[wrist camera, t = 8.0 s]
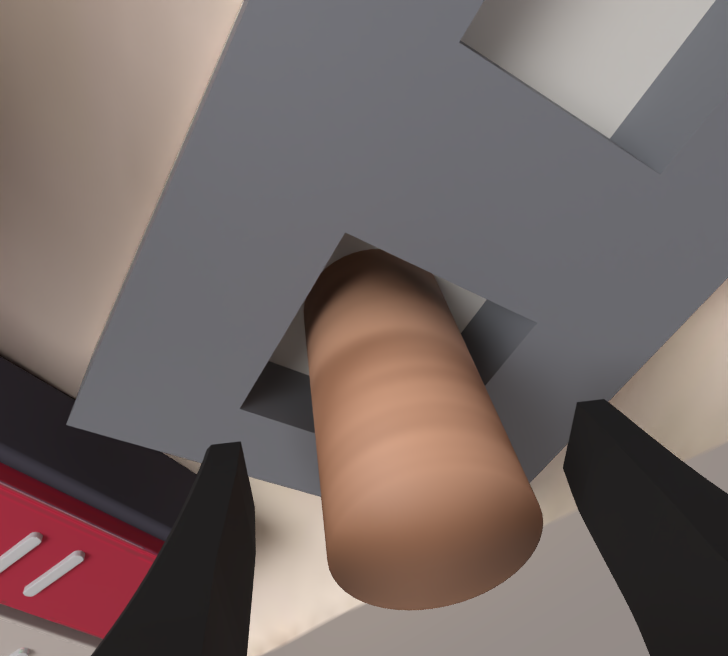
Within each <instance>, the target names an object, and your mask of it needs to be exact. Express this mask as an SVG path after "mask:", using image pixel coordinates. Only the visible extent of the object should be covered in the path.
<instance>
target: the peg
mask: <svg viewBox="0 0 728 656" xmlns="http://www.w3.org/2000/svg"><path fill="white" fill-rule="evenodd" d="M304 325H305V335H306V346H307V356H308V366H309V377H310V387H311V397H312V407H313V418H314V428H315V438H316V448H317V459H318V469H319V479H320V489H321V500H322V510H323V520H324V531H325V541H326V551H327V561H328V566H329V570H330V572H331V574H332V576H333V578H334V580H335V581H336V582H337V584H338V585H339V586H340V587H341V588H342V589H343V590H344V591H345V592H347V593H348V594H350V595H351V596H353V597H354V598H356V599H358V600H360V601H362V602H365V603H368V604H371V605H374V606H378V607H382V608H388V609H395V610H424V609H433V608H439V607H444V606H449V605H452V604H456V603H460V602H463V601H466V600H468V599H471V598H474V597H476V596H479V595H481V594H483V593H485V592H487V591H489V590H491V589H493V588H495V587H496V586H498V585H499V584H501V583H503V582H504V581H506V580H507V579H508V578H510V577H511V576H512V575H513V574H515V573H516V572H517V571H518V570H519V569H520V568H521V567H522V566H523V565H524V564H525V563H526V561H527V560H528V559H529V558H530V557H531V555H532V554H533V552H534V551H535V549H536V547H537V545H538V543H539V541H540V537H541V534H542V529H543V517H542V512H541V509H540V506H539V503H538V501H537V499H536V497H535V495H534V492H533V490H532V488H531V486H530V484H529V482H528V479H527V477H526V475H525V473H524V471H523V468H522V466H521V464H520V462H519V460H518V457H517V455H516V453H515V451H514V449H513V447H512V444H511V442H510V440H509V438H508V436H507V433H506V431H505V429H504V427H503V425H502V423H501V420H500V418H499V416H498V414H497V412H496V409H495V407H494V405H493V403H492V401H491V399H490V396H489V394H488V392H487V390H486V388H485V385H484V383H483V381H482V379H481V377H480V374H479V372H478V370H477V368H476V366H475V364H474V361H473V359H472V357H471V355H470V353H469V350H468V348H467V346H466V344H465V342H464V340H463V337H462V335H461V333H460V331H459V329H458V326H457V324H456V322H455V320H454V318H453V315H452V313H451V311H450V309H449V307H448V305H447V302H446V300H445V298H444V296H443V294H442V291H441V289H440V287H439V285H438V283H437V281H436V279H435V277H434V275H433V274H432V273H430V272H428V271H426V270H424V269H422V268H419V267H417V266H415V265H413V264H411V263H409V262H407V261H405V260H402V259H400V258H398V257H396V256H394V255H392V254H390V253H388V252H386V251H383V250H381V249H369V250H363V251H359V252H355V253H352V254H349V255H347V256H344V257H342V258H340V259H339V260H337V261H335V262H334V263H332V264H331V265H329V266H328V267H327V268H326V269H325V270H324V271H322V272H321V274H320V275H319V277H318V279H317V280H316V282H315V284H314V285H313V287H312V289H311V291H310V292H309V294H308V296H307V297H306V300H305V304H304Z"/></svg>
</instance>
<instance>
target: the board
mask: <svg viewBox="0 0 728 656" xmlns="http://www.w3.org/2000/svg"><path fill="white" fill-rule="evenodd" d="M369 249H381V250H383V251H386V252H388V253H390V254H392V255H394V256H396V257H398V258H400V259H402V260H405V261H407V262H409V263H411V264H413V265H415V266H417V267H419V268H422V269H424V270H426V271H428V272H430V273H432V274H433V275H434V277H435V279H436V281H437V283H438V285H439V287H440V289H441V291H442V294H443V296H444V298H445V300H446V302H447V305H448V307H449V309H450V311H451V313H452V315H453V318H454V320H455V322H456V324H457V326H458V329H459V331H460V333H461V335H462V337H463V340H464V342H465V344H466V346H467V348H468V350H469V353H470V355H471V357H472V359H473V361H474V364H475V366H476V368H477V370H478V372H479V374H480V377H481V379H482V381H483V383H484V385H485V388H486V390H487V392H488V394H489V396H490V399H491V401H492V403H493V405H494V407H495V409H496V412H497V414H498V416H499V418H500V420H501V423H502V425H503V427H504V429H505V431H506V433H507V436H508V438H509V440H510V442H511V444H512V447H513V449H514V451H515V453H516V455H517V457H518V460H519V462H520V464H521V466H522V468H523V471H524V473H525V475H526V477H527V479H528V482H529V483H530V482H531V481H532V480H533V479H534V478H535V477H536V476H537V475H538V474H539V473H540V472H541V471H542V470H543V469H544V468H545V467H546V466H547V464H548V463H549V462H550V461H551V460H552V459H553V458H554V457H555V456H556V455H557V454H558V453H559V452H560V451H561V450H562V449H563V448H564V447H565V446H566V445H567V444H568V442H569V437H570V432H571V428H572V423H573V418H574V413H575V409H576V404H577V402H583V401H591V400H600V399H605V400H606V401H607V402H608V401H609V400H610V399H611V398H612V397H613V396H614V395H615V394H616V393H617V392H618V391H619V390H620V389H621V388H622V387H623V386H624V385H625V384H626V383H627V382H628V381H629V380H630V379H631V377H632V376H633V375H634V374H635V373H636V372H637V371H638V370H639V369H640V368H641V367H642V366H643V365H644V364H645V363H646V362H647V361H648V360H649V359H650V358H651V357H652V356H653V355H654V354H655V353H656V352H657V351H658V349H659V348H660V347H661V346H662V345H663V344H664V343H665V342H666V341H667V340H668V339H669V338H670V337H671V336H672V335H673V334H674V333H675V332H676V331H677V330H678V329H679V328H680V327H681V326H682V325H683V324H684V323H685V322H686V320H687V319H688V318H689V317H690V316H691V315H692V314H693V313H694V312H695V311H696V310H697V309H698V308H699V307H700V306H701V305H702V304H703V303H704V302H705V301H706V300H707V299H708V298H709V297H710V296H711V295H712V294H713V293H714V291H715V290H716V289H717V288H718V287H719V286H720V285H721V284H722V283H723V282H724V281H725V280H726V279H727V278H728V0H243V3H242V5H241V7H240V10H239V12H238V14H237V17H236V19H235V21H234V24H233V26H232V28H231V31H230V33H229V35H228V38H227V40H226V42H225V45H224V47H223V50H222V52H221V54H220V57H219V59H218V61H217V64H216V66H215V68H214V71H213V73H212V75H211V78H210V80H209V82H208V85H207V87H206V89H205V92H204V94H203V96H202V99H201V101H200V103H199V106H198V108H197V110H196V113H195V115H194V117H193V120H192V122H191V124H190V127H189V129H188V132H187V134H186V136H185V139H184V141H183V143H182V146H181V148H180V150H179V153H178V155H177V157H176V160H175V162H174V164H173V167H172V169H171V171H170V174H169V176H168V178H167V181H166V183H165V185H164V188H163V190H162V192H161V195H160V197H159V199H158V202H157V204H156V206H155V209H154V211H153V214H152V216H151V218H150V221H149V223H148V225H147V228H146V230H145V232H144V235H143V237H142V239H141V242H140V244H139V246H138V249H137V251H136V253H135V256H134V258H133V260H132V263H131V265H130V267H129V270H128V272H127V274H126V277H125V279H124V281H123V284H122V286H121V289H120V291H119V293H118V296H117V298H116V300H115V303H114V305H113V307H112V310H111V312H110V314H109V317H108V319H107V321H106V324H105V326H104V328H103V331H102V333H101V335H100V338H99V340H98V342H97V345H96V347H95V349H94V352H93V354H92V357H91V360H90V362H89V365H88V368H87V370H86V373H85V376H84V378H83V381H82V384H81V386H80V389H79V392H78V394H77V397H76V400H75V402H74V405H73V408H72V410H71V413H70V416H69V418H68V421H67V424H66V425H68V426H72V427H75V428H79V429H83V430H86V431H90V432H93V433H97V434H100V435H104V436H107V437H111V438H114V439H118V440H121V441H125V442H129V443H132V444H136V445H139V446H143V447H146V448H150V449H153V450H157V451H160V452H164V453H168V454H171V455H175V456H178V457H182V458H185V459H189V460H192V461H196V462H199V463H202V461H203V459H204V456H205V453H206V450H207V449H208V448H209V447H210V446H211V445H213V444H222V443H230V442H239V441H241V444H242V449H243V453H244V458H245V463H246V468H247V473H248V476H249V477H253V478H256V479H260V480H263V481H267V482H270V483H274V484H277V485H281V486H284V487H288V488H291V489H295V490H299V491H302V492H306V493H309V494H313V495H316V496H320V497H321V489H320V479H319V469H318V459H317V448H316V438H315V428H314V418H313V407H312V397H311V387H310V377H309V366H308V356H307V346H306V335H305V325H304V304H305V300H306V297H307V296H308V294H309V292H310V291H311V289H312V287H313V285H314V284H315V282H316V280H317V279H318V277H319V275H320V274H321V272H322V271H324V270H325V269H326V268H327V267H328V266H329V265H331V264H332V263H334V262H335V261H337V260H339V259H340V258H342V257H344V256H347V255H349V254H352V253H355V252H359V251H363V250H369Z"/></svg>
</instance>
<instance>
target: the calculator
mask: <svg viewBox="0 0 728 656" xmlns="http://www.w3.org/2000/svg"><path fill="white" fill-rule="evenodd" d="M74 402H75V400H74V399H72V398H70V397H69V396H67V395H65V394H64V393H62V392H60V391H58V390H57V389H55V388H53V387H52V386H50V385H48V384H46V383H45V382H43V381H41V380H40V379H38V378H36V377H34V376H33V375H31V374H29V373H28V372H26V371H24V370H22V369H21V368H19V367H17V366H16V365H14V364H12V363H10V362H9V361H7V360H5V359H4V358H2V357H0V656H91V655H92V653H93V652H94V651H95V649H96V648H97V647H98V645H99V644H100V643H101V641H102V640H103V638H104V637H105V636H106V634H107V633H108V632H109V630H110V629H111V627H112V626H113V625H114V623H115V622H116V620H117V619H118V618H119V616H120V615H121V613H122V612H123V610H124V609H125V607H126V606H127V604H128V603H129V601H130V600H131V598H132V597H133V595H134V593H135V592H136V590H137V589H138V587H139V586H140V584H141V582H142V581H143V579H144V578H145V576H146V574H147V573H148V571H149V569H150V567H151V566H152V564H153V562H154V560H155V558H156V557H157V555H158V553H159V551H160V550H161V548H162V546H163V544H164V543H165V541H166V539H167V537H168V535H169V533H170V532H171V530H172V528H173V525H174V523H175V521H176V519H177V517H178V515H179V513H180V511H181V509H182V507H183V505H184V503H185V501H186V499H187V497H188V495H189V492H190V490H191V488H192V486H193V483H194V481H195V479H196V476H197V474H195V473H193V472H192V471H190V470H189V469H187V468H186V467H184V466H182V465H181V464H179V463H178V462H176V461H175V460H173V459H171V458H170V457H168V456H167V455H165V454H163V453H162V452H160V451H157V450H153V449H150V448H146V447H143V446H139V445H136V444H132V443H129V442H125V441H121V440H118V439H114V438H111V437H107V436H104V435H100V434H97V433H93V432H90V431H86V430H83V429H79V428H75V427H72V426H68V425H66V424H67V421H68V418H69V416H70V413H71V410H72V408H73V405H74Z"/></svg>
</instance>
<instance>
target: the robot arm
mask: <svg viewBox="0 0 728 656" xmlns="http://www.w3.org/2000/svg"><path fill="white" fill-rule="evenodd" d="M563 469H564V472H565V475H566V478H567V481H568V483H569V486H570V489H571V492H572V494H573V497H574V500H575V502H576V505H577V507H578V510H579V512H580V514H581V516H582V518H583V520H584V522H585V524H586V526H587V528H588V530H589V532H590V534H591V535H592V537H593V539H594V541H595V543H596V545H597V547H598V549H599V551H600V553H601V555H602V557H603V558H604V560H605V562H606V564H607V566H608V568H609V570H610V572H611V574H612V575H613V577H614V579H615V581H616V583H617V585H618V587H619V589H620V590H621V592H622V594H623V596H624V598H625V600H626V602H627V604H628V606H629V608H630V610H631V612H632V614H633V616H634V618H635V621H636V622H637V625H638V627H639V630H640V632H641V634H642V637H643V639H644V642H645V644H646V646H647V649H648V651H649V654H650V656H728V494H727V493H725V492H724V491H722V490H721V489H720V488H718V487H717V486H716V485H714V484H713V483H711V482H710V481H708V480H707V479H706V478H704V477H703V476H702V475H700V474H699V473H698V472H696V471H695V470H693V469H692V468H691V467H689V466H688V465H687V464H685V463H684V462H683V461H681V460H680V459H679V458H678V457H676V456H675V455H674V454H672V453H671V452H670V451H669V450H667V449H666V448H665V447H663V446H662V445H661V444H660V443H658V442H657V441H656V440H655V439H653V438H652V437H651V436H650V435H648V434H647V433H646V432H645V431H643V430H642V429H641V428H640V427H638V426H637V425H636V424H635V423H634V422H632V421H631V420H630V419H629V418H627V417H626V416H625V415H624V414H622V413H621V412H620V411H619V410H617V409H616V408H615V407H614V406H612V405H611V404H610V403H609V402H607V401H606V400H605V399H600V400H591V401H583V402H577V404H576V409H575V413H574V418H573V423H572V428H571V432H570V437H569V442H568V446H567V451H566V456H565V461H564V465H563ZM255 555H256V547H255V506H254V501H253V496H252V492H251V487H250V482H249V477H248V473H247V468H246V463H245V458H244V453H243V449H242V444H241V441H239V442H230V443H222V444H213V445H211V446H210V447H209V448H208V449H207V450H206V453H205V456H204V459H203V461H202V464H201V466H200V469H199V472H198V474H197V476H196V479H195V481H194V483H193V486H192V488H191V490H190V492H189V495H188V497H187V499H186V501H185V503H184V505H183V507H182V509H181V511H180V513H179V515H178V517H177V519H176V521H175V523H174V525H173V528H172V530H171V532H170V533H169V535H168V537H167V539H166V541H165V543H164V544H163V546H162V548H161V550H160V551H159V553H158V555H157V557H156V558H155V560H154V562H153V564H152V566H151V567H150V569H149V571H148V573H147V574H146V576H145V578H144V579H143V581H142V582H141V584H140V586H139V587H138V589H137V590H136V592H135V593H134V595H133V597H132V598H131V600H130V601H129V603H128V604H127V606H126V607H125V609H124V610H123V612H122V613H121V615H120V616H119V618H118V619H117V620H116V622H115V623H114V625H113V626H112V627H111V629H110V630H109V632H108V633H107V634H106V636H105V637H104V638H103V640H102V641H101V643H100V644H99V645H98V647H97V648H96V649H95V651H94V652H93V653H92V655H91V656H247V648H248V636H249V625H250V614H251V602H252V591H253V579H254V567H255Z"/></svg>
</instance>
